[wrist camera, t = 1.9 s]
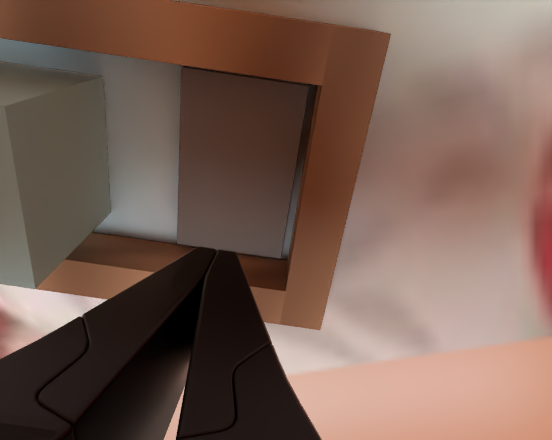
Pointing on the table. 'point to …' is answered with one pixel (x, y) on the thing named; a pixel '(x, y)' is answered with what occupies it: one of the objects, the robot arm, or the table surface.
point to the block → (49, 168)
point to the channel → (245, 60)
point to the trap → (237, 160)
